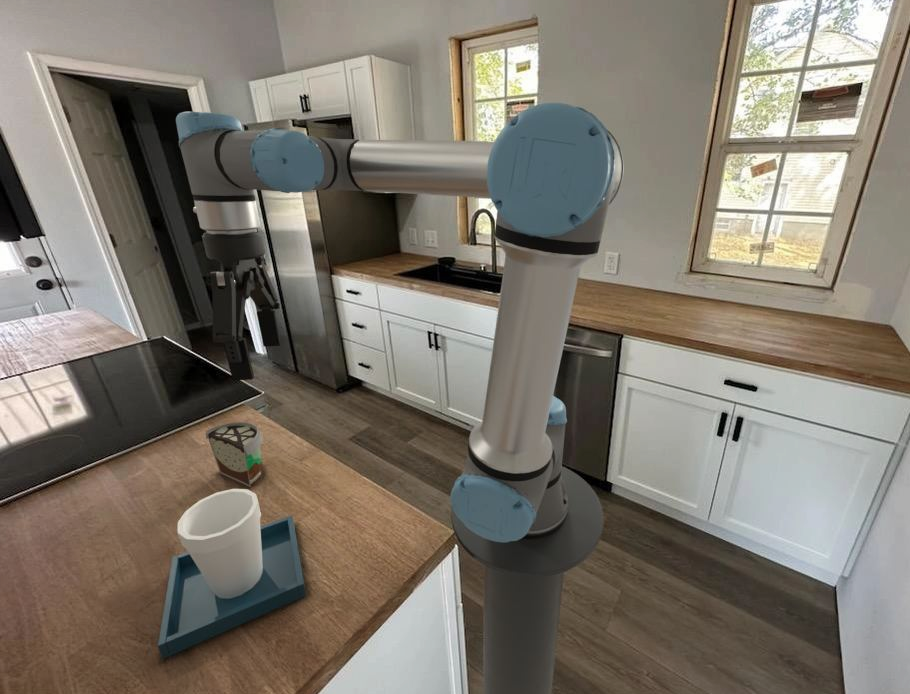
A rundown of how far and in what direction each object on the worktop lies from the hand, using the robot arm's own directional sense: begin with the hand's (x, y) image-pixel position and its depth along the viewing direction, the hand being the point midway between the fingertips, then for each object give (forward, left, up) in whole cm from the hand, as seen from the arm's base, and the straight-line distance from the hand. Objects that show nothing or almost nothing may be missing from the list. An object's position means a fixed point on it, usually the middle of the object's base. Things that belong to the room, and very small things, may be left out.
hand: (259, 360), depth 69 cm
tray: (+8, +16, -29) cm, 34 cm away
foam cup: (+8, +16, -28) cm, 34 cm away
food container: (+6, -12, -29) cm, 32 cm away
